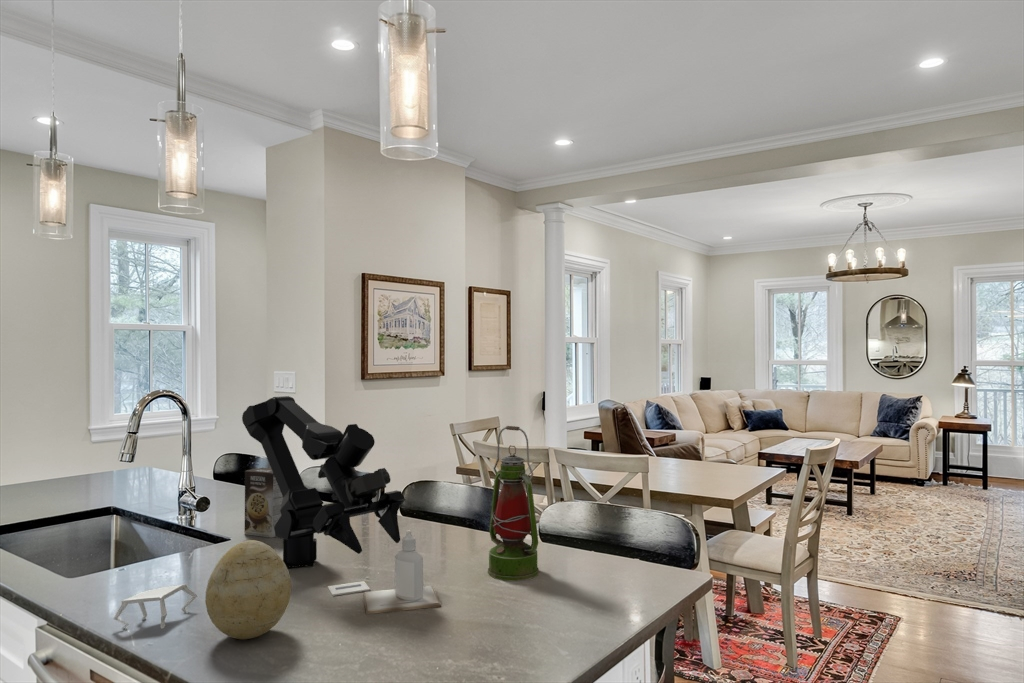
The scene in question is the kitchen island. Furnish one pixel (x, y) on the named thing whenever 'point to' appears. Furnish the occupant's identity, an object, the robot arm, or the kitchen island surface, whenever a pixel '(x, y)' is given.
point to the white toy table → (154, 596)
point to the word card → (348, 588)
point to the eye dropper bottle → (409, 570)
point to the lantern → (513, 520)
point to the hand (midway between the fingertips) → (380, 547)
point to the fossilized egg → (248, 590)
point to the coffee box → (261, 502)
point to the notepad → (398, 601)
